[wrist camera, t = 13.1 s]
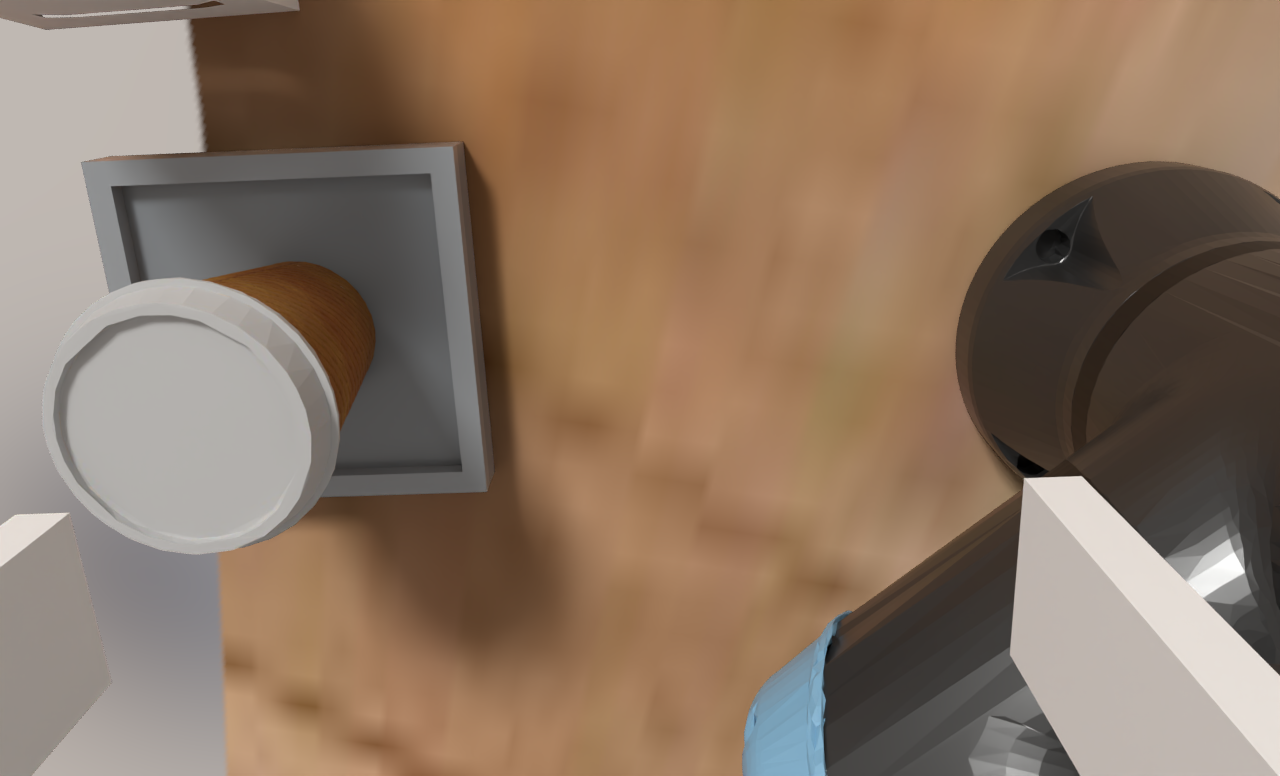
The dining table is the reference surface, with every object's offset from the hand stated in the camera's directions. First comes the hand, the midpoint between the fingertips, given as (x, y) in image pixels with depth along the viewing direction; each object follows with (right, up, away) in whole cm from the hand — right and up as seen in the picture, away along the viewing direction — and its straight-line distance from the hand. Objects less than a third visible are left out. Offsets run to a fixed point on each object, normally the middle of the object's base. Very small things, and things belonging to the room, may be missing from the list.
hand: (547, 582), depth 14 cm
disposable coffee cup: (-13, +5, +29) cm, 33 cm away
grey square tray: (-13, +6, +31) cm, 34 cm away
